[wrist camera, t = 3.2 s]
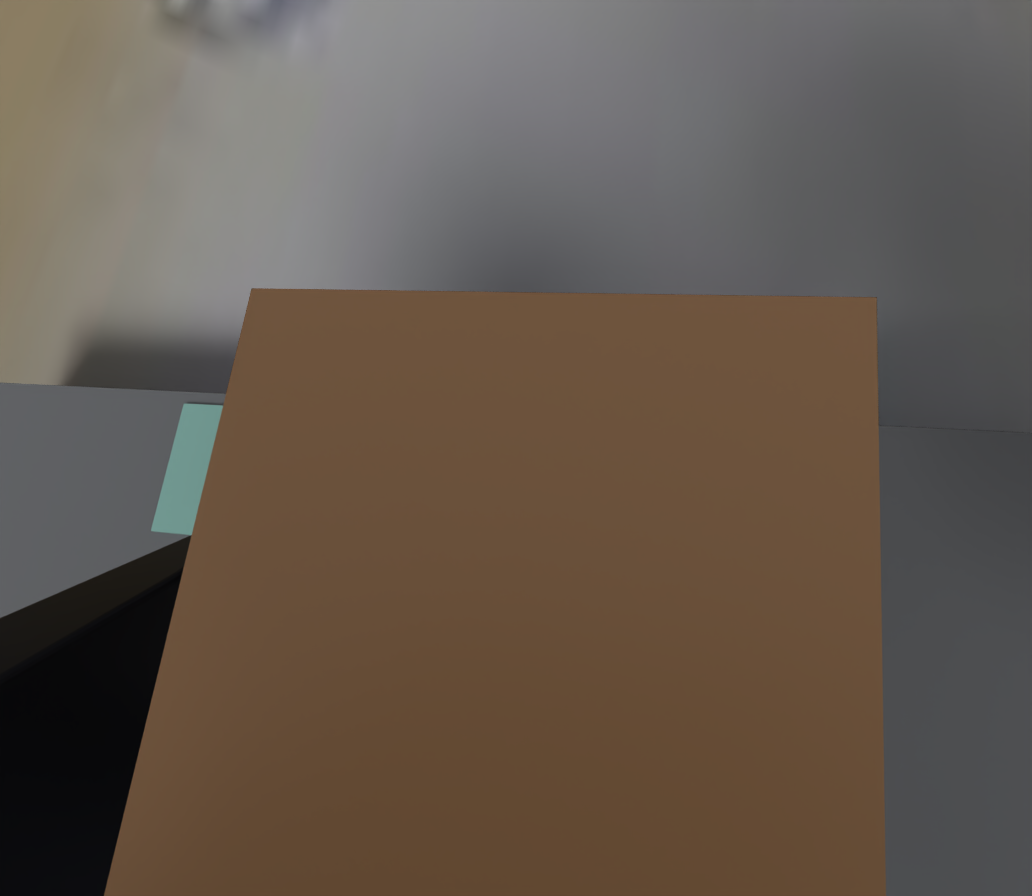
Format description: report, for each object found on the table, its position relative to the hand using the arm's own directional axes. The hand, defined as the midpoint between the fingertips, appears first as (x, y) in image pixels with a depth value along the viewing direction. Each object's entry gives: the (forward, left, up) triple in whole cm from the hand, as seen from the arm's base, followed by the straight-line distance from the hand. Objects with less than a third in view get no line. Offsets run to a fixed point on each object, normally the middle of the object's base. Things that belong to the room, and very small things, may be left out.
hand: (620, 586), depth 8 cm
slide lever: (-1, +1, -5) cm, 5 cm away
